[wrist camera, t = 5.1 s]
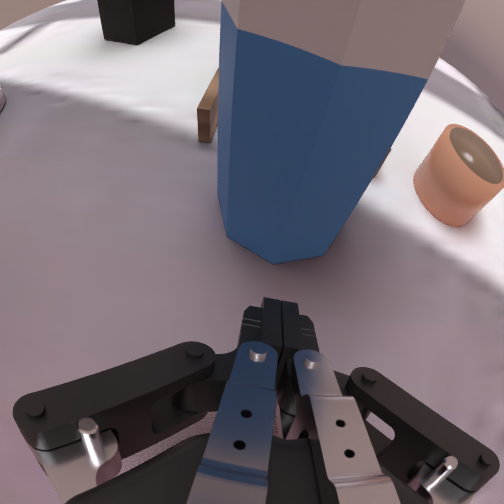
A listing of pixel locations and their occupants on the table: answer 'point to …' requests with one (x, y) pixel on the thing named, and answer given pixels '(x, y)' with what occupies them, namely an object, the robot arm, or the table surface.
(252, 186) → the water bottle
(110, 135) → the table surface
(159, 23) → the black square pillar
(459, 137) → the clay pot
